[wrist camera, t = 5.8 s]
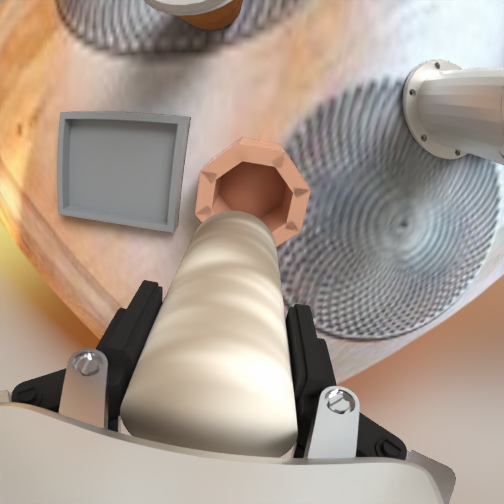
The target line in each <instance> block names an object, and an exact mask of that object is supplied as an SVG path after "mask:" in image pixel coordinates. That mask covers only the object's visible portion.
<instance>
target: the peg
mask: <svg viewBox="0 0 504 504" xmlns="http://www.w3.org/2000/svg"><path fill="white" fill-rule="evenodd" d="M120 415H121V419H122V422H123V424H124V426H125V427H126V429H127V430H128V432H129V433H130V434H131V435H132V436H133V437H137V438H141V439H145V440H150V441H154V442H159V443H163V444H168V445H173V446H179V447H184V448H190V449H196V450H202V451H209V452H217V453H225V454H234V455H244V456H256V457H272V458H280V457H281V456H283V455H284V454H285V453H287V452H288V451H289V450H290V449H291V448H292V447H293V445H294V444H295V442H296V440H297V436H298V428H297V418H296V408H295V399H294V390H293V380H292V371H291V362H290V354H289V345H288V337H287V328H286V320H285V312H284V304H283V296H282V288H281V280H280V273H279V265H278V258H277V250H276V243H275V239H274V237H273V234H272V232H271V231H270V229H269V228H268V227H267V225H266V224H265V223H264V222H263V221H261V220H260V219H259V218H257V217H255V216H254V215H252V214H249V213H246V212H242V211H234V210H233V211H223V212H219V213H216V214H214V215H212V216H210V217H209V218H207V219H206V220H205V221H203V222H202V223H201V225H200V226H199V227H198V229H197V230H196V232H195V234H194V236H193V238H192V240H191V242H190V244H189V247H188V249H187V251H186V253H185V255H184V257H183V259H182V261H181V264H180V266H179V268H178V270H177V272H176V274H175V277H174V279H173V281H172V283H171V285H170V288H169V290H168V292H167V294H166V297H165V299H164V301H163V303H162V306H161V308H160V310H159V313H158V315H157V317H156V320H155V322H154V324H153V327H152V329H151V331H150V334H149V336H148V338H147V341H146V343H145V346H144V348H143V351H142V353H141V355H140V358H139V360H138V363H137V365H136V368H135V370H134V373H133V376H132V378H131V381H130V383H129V386H128V388H127V391H126V394H125V396H124V399H123V402H122V404H121V407H120Z"/></svg>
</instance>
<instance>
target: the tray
mask: <svg viewBox="0 0 504 504" xmlns="http://www.w3.org/2000/svg"><path fill="white" fill-rule="evenodd" d="M190 120H191V117H186V116H176V115H164V114H151V113H134V112H107V111H70V112H60V122H59V137H58V211H59V215H65V216H72V217H78V218H84V219H90V220H97V221H103V222H109V223H115V224H122V225H128V226H134V227H140V228H146V229H152V230H159V231H165V232H171V233H174V231H175V230H176V228H177V227H178V219H179V209H180V199H181V189H182V180H183V172H184V163H185V155H186V148H187V140H188V133H189V127H190Z"/></svg>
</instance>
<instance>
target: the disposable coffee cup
mask: <svg viewBox="0 0 504 504" xmlns="http://www.w3.org/2000/svg"><path fill="white" fill-rule="evenodd" d="M144 1H145V2H146V3H147V4H148V5H149V6H151V7H152V8H154V9H156V10H158V11H160V12H163V13H166V14H172V15H175V16H177V17H179V18H181V19H183V20H184V21H186V22H188V23H190V24H191V25H193V26H194V27H196V28H199V29H202V30H216V29H221V28H223V27H226V26H227V25H229V24H231V23H232V22H233V21H234V20H235V19H236V18H237V17H238V15H239V13H240V10H241V6H242V1H243V0H144Z"/></svg>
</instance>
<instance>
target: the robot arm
mask: <svg viewBox="0 0 504 504" xmlns="http://www.w3.org/2000/svg"><path fill="white" fill-rule="evenodd" d="M409 91H410V92H411V94H410V93H409ZM402 103H403V112H404V116H405V120H406V123H407V126H408V128H409V130H410V132H411V134H412V135H413V137H414V139H415V140H416V141H417V142H418V144H419V145H420V146H421V147H422V148H423V149H425V150H426V151H427V152H429V153H431V154H432V155H434V156H437V157H440V158H444V159H457V158H460V157H463V156H465V155H466V154H468V153H470V154H473V155H476V156H479V157H482V158H485V159H488V160H491V161H493V162H496V163H499V164H502V165H504V67H484V68H471V69H462V68H460V67H459V66H457V65H456V64H454V63H451V62H449V61H445V60H430V61H426V62H424V63H422V64H420V65H418V66H417V67H416V68H415V69H413V71H412V72H411V73H410V75H409V76H408V78H407V81H406V83H405V86H404V91H403V102H402ZM421 136H422V139H421ZM161 306H162V287H159V286H158V283H157V282H152V281H147V280H144V281H143V282H142V284H141V286H140V287H139V289H138V291H137V292H136V294H135V296H134V298H133V299H132V301H131V303H130V304H129V306H128V308H127V309H124V308H120V309H119V310H118V311H117V313H116V314H115V316H114V318H113V319H112V321H111V323H110V325H109V326H108V328H107V330H106V331H105V333H104V335H103V337H102V338H101V340H100V342H99V344H98V345H97V347H96V349H82V350H79V351H77V352H75V353H74V354H73V355H72V356H71V357H70V359H69V361H68V365H67V368H66V369H63V370H60V371H57V372H54V373H51V374H48V375H44V376H41V377H38V378H35V379H31V380H28V381H25V382H22V383H20V384H19V385H17V386H16V387H15V389H14V390H13V392H10V393H9V391H8V390H4V391H0V504H449V501H450V498H451V495H452V492H453V489H454V485H455V481H456V477H455V473H454V472H453V470H452V469H451V468H449V467H448V466H446V465H443V464H441V463H439V462H437V461H435V460H433V459H430V458H428V457H426V456H424V455H422V454H420V453H418V452H416V451H414V450H412V451H411V452H409V451H407V449H406V446H405V444H404V443H403V441H401V440H400V439H399V438H398V437H396V436H395V435H393V434H391V433H390V432H389V431H387V430H386V429H384V428H383V427H381V426H379V425H378V424H376V423H375V422H373V421H372V420H370V419H369V418H367V417H366V416H364V415H363V414H361V413H360V412H359V408H360V407H359V406H360V405H359V400H358V398H357V396H356V395H355V394H354V393H353V392H352V391H350V390H349V389H347V388H344V387H341V386H337V385H336V381H335V377H334V373H333V369H332V365H331V361H330V357H329V353H328V349H327V345H326V342H325V340H324V339H321V338H317V335H316V331H315V326H314V322H313V318H312V314H311V310H310V306H309V305H301V304H295V305H294V307H290V308H289V310H288V314H287V317H286V328H287V337H288V345H289V354H290V362H291V371H292V380H293V390H294V399H295V408H296V418H297V428H298V436H297V440H296V442H295V444H294V446H293V450H292V454H291V457H290V458H272V457H256V456H244V455H234V454H225V453H217V452H209V451H202V450H196V449H190V448H184V447H179V446H173V445H168V444H163V443H159V442H154V441H150V440H145V439H141V438H137V437H133V436H129V435H126V434H122V433H121V424H120V423H121V422H120V421H121V416H120V407H121V404H122V402H123V399H124V396H125V394H126V391H127V388H128V386H129V383H130V381H131V378H132V376H133V373H134V370H135V368H136V365H137V363H138V360H139V358H140V355H141V353H142V351H143V348H144V346H145V343H146V341H147V338H148V336H149V334H150V331H151V329H152V327H153V324H154V322H155V320H156V317H157V315H158V313H159V310H160V308H161Z"/></svg>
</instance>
